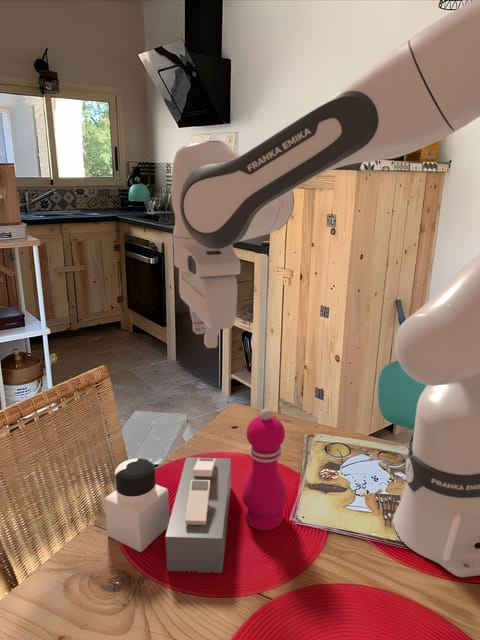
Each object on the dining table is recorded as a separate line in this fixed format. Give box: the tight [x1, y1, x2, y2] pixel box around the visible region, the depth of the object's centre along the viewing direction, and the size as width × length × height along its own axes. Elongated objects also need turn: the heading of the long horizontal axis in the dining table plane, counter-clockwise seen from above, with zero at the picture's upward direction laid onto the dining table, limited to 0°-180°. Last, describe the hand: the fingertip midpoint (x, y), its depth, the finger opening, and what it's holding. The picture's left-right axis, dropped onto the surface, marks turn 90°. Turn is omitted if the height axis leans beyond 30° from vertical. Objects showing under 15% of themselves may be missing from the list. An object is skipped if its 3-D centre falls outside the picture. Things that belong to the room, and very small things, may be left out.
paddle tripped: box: [193, 457, 216, 476], centre depth 83 cm, size 3×7×1 cm, turn 178°
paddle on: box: [185, 480, 210, 525], centre depth 75 cm, size 3×7×1 cm, turn 177°
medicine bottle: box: [104, 457, 170, 553], centre depth 78 cm, size 7×7×12 cm
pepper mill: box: [242, 408, 287, 531], centre depth 80 cm, size 7×7×20 cm
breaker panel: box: [164, 456, 232, 574], centre depth 80 cm, size 8×20×7 cm, turn 178°
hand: (204, 339), depth 80 cm, fingers open, 5 cm apart
